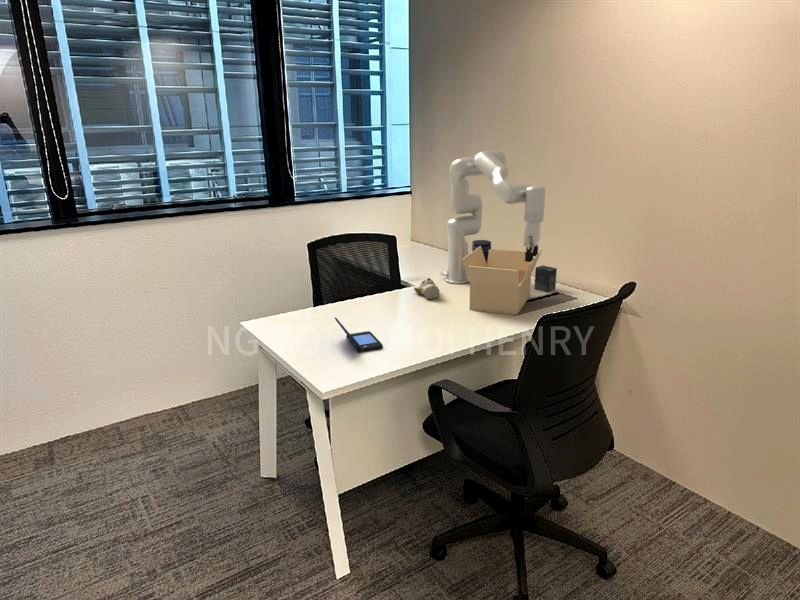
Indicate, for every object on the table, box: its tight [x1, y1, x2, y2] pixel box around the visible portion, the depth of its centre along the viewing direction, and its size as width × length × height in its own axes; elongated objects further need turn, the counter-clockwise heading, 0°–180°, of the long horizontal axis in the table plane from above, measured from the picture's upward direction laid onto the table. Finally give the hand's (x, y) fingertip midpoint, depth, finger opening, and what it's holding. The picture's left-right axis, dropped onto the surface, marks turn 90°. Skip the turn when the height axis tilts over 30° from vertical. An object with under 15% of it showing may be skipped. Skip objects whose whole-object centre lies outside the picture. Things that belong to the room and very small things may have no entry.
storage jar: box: [471, 239, 492, 264], centre depth 279 cm, size 10×10×15 cm
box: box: [534, 265, 558, 293], centre depth 244 cm, size 8×6×11 cm
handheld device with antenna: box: [334, 317, 384, 353], centre depth 189 cm, size 16×13×9 cm
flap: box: [520, 249, 543, 287], centre depth 219 cm, size 10×25×1 cm
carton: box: [462, 246, 532, 316], centre depth 227 cm, size 24×32×22 cm
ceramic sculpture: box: [413, 277, 440, 300], centre depth 240 cm, size 11×9×15 cm
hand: (531, 258), depth 218 cm, fingers open, 9 cm apart
